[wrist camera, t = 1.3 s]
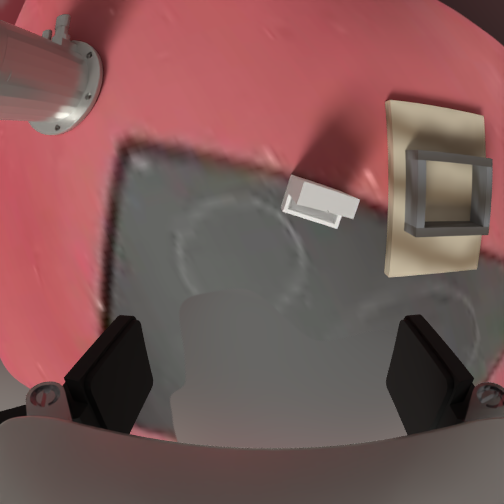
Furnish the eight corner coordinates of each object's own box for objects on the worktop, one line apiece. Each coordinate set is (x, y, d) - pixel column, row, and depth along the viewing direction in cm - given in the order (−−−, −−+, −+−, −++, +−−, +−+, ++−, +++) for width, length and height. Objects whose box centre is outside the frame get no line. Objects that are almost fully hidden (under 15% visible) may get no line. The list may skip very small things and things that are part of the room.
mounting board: (385, 101, 29) (401, 95, 24) (476, 116, 28) (498, 114, 24) (384, 272, 35) (398, 287, 30) (470, 265, 34) (489, 277, 30)
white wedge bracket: (250, 162, 29) (304, 181, 22) (324, 184, 34) (380, 207, 27) (240, 197, 30) (289, 227, 23) (314, 214, 35) (368, 242, 28)
